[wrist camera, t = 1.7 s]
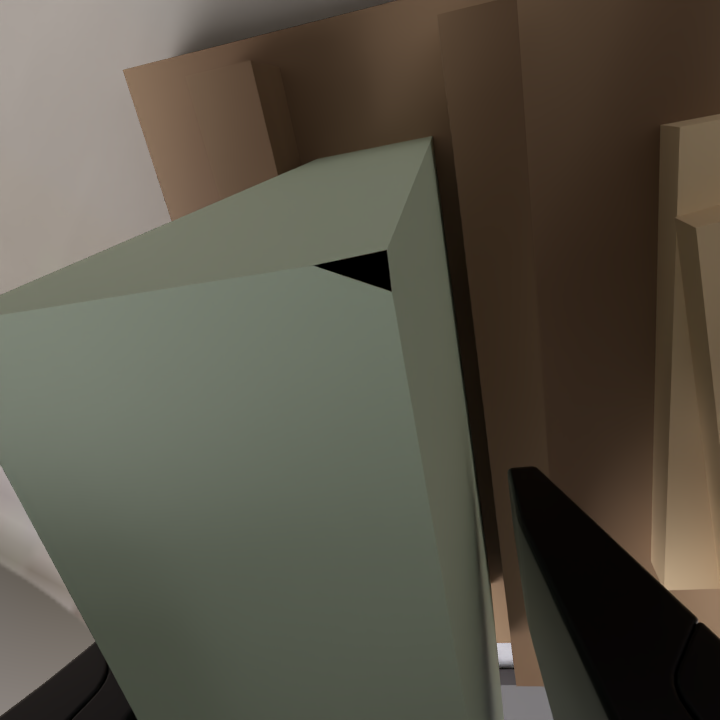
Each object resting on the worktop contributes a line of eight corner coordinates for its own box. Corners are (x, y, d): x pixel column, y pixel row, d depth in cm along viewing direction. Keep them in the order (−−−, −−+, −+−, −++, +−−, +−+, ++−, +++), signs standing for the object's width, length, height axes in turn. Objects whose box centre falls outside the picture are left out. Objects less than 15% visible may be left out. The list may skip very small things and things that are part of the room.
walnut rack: (1226, -189, 7) (1797, -403, 4) (973, 581, 13) (1143, 735, 10) (163, 74, 11) (46, 61, 8) (320, 599, 16) (289, 719, 13)
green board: (432, 135, 9) (385, 252, 2) (490, 583, 13) (546, 1173, 6) (317, 159, 10) (-72, 327, 2) (407, 586, 13) (363, 1139, 6)
